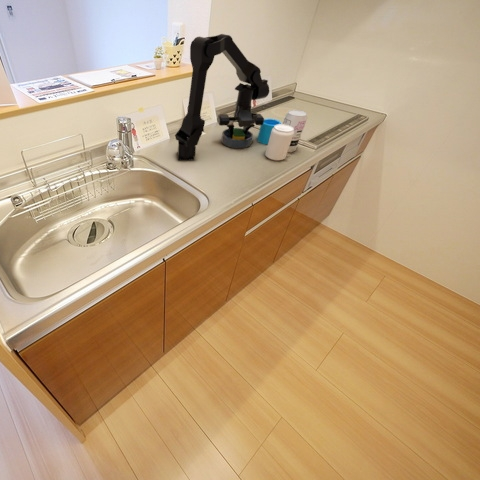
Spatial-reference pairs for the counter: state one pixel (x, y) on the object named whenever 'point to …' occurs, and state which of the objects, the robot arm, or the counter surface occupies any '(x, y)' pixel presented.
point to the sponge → (238, 134)
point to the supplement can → (295, 126)
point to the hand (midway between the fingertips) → (236, 139)
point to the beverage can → (279, 142)
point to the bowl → (234, 142)
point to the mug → (266, 130)
